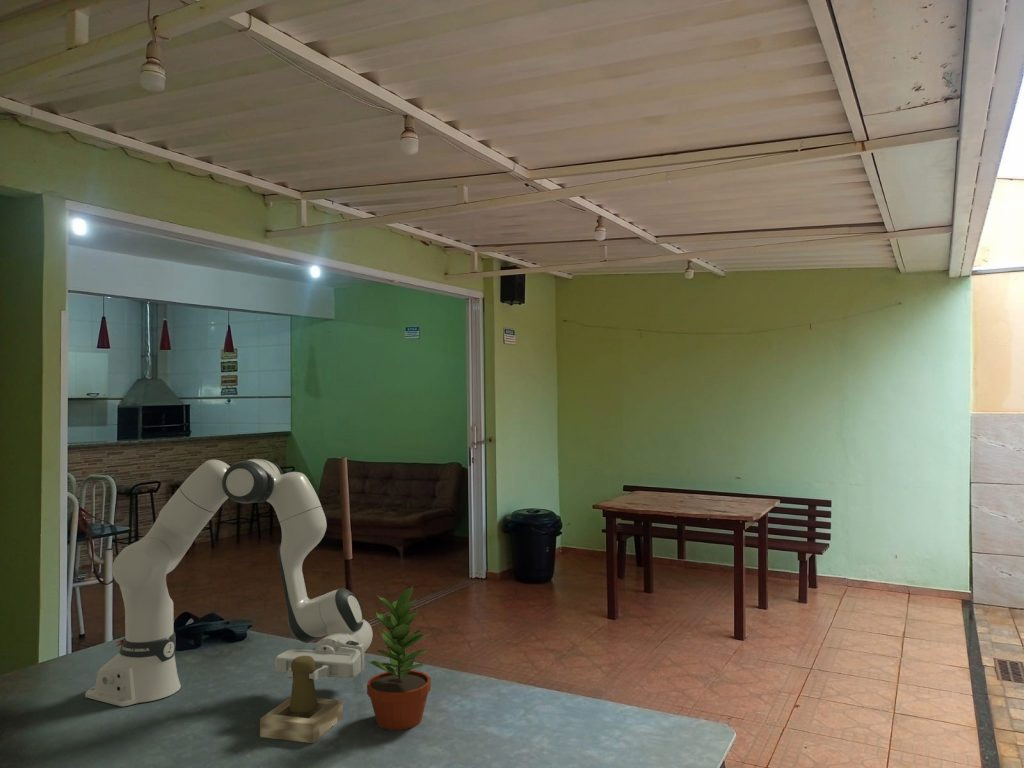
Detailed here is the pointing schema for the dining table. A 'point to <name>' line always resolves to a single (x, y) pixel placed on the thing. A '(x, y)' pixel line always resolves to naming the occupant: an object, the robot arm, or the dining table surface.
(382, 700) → the potted plant
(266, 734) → the socket block
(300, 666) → the cork
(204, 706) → the dining table surface
